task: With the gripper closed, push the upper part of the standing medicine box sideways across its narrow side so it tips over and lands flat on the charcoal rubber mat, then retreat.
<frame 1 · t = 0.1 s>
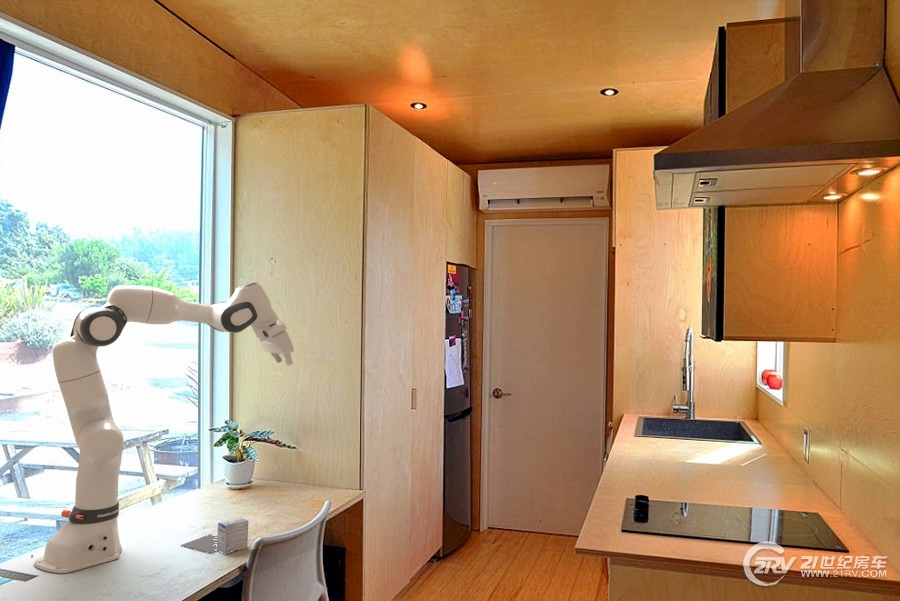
hand: (285, 363, 233), 54 cm above the table, tool tilted 30°, fingers open, 8 cm apart
mat: (210, 543, 212), on the table
medicine box: (232, 550, 208), on the table
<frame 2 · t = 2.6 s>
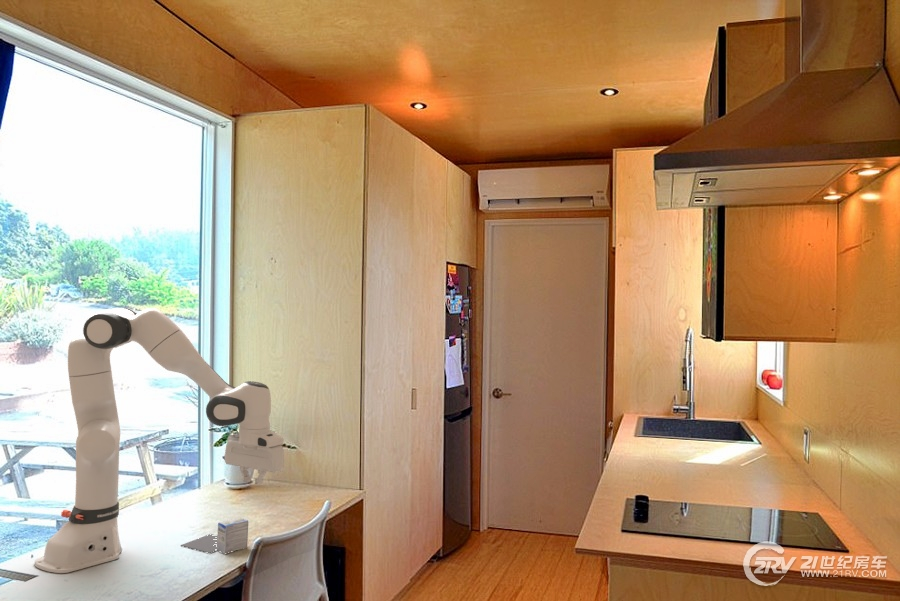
hand: (252, 483, 205), 21 cm above the table, tool pointing down, fingers open, 3 cm apart
nothing on the table moved.
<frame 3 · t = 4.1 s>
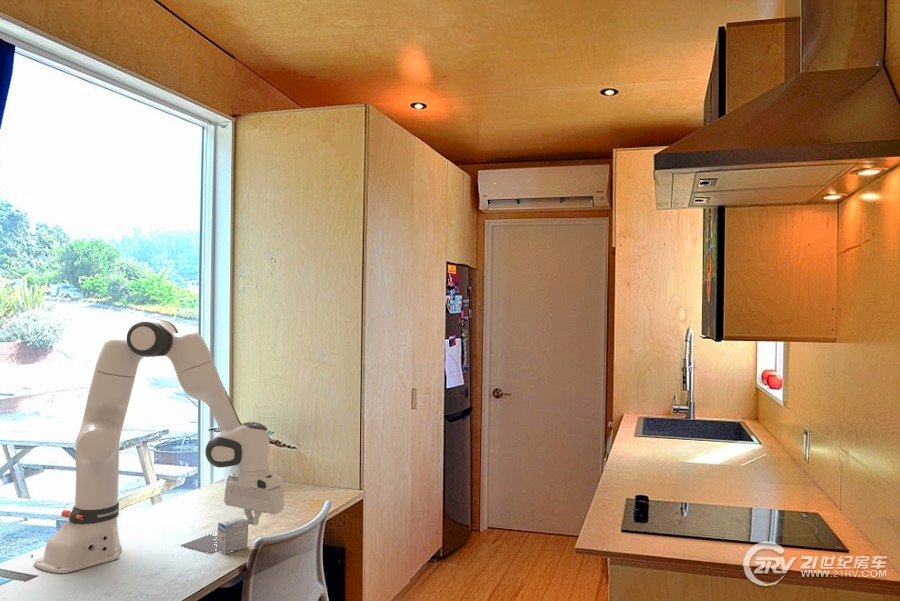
hand: (252, 524, 205), 9 cm above the table, tool pointing down, fingers closed
nothing on the table moved.
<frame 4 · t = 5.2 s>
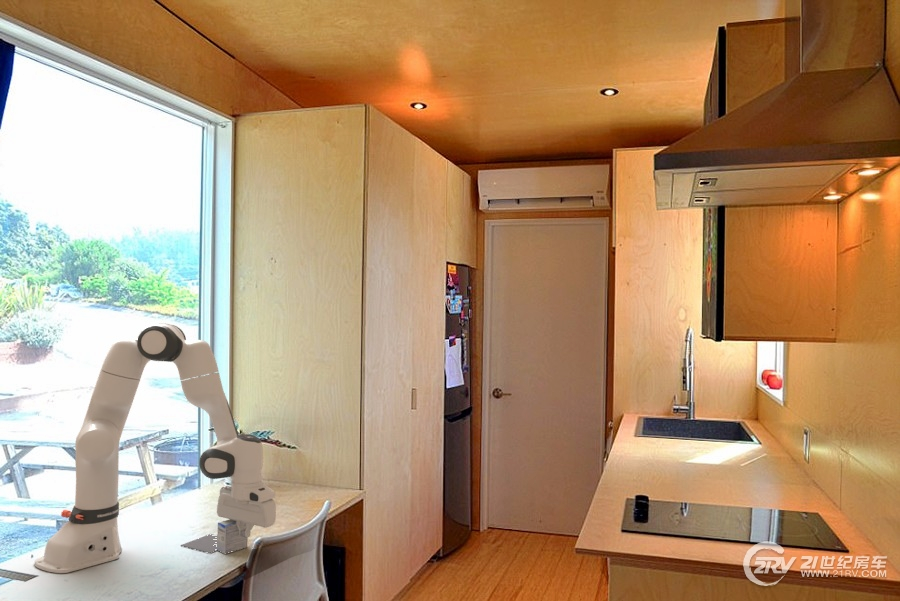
hand: (244, 536, 205), 5 cm above the table, tool pointing down, fingers closed
medicine box: (232, 550, 208), on the table, touching gripper
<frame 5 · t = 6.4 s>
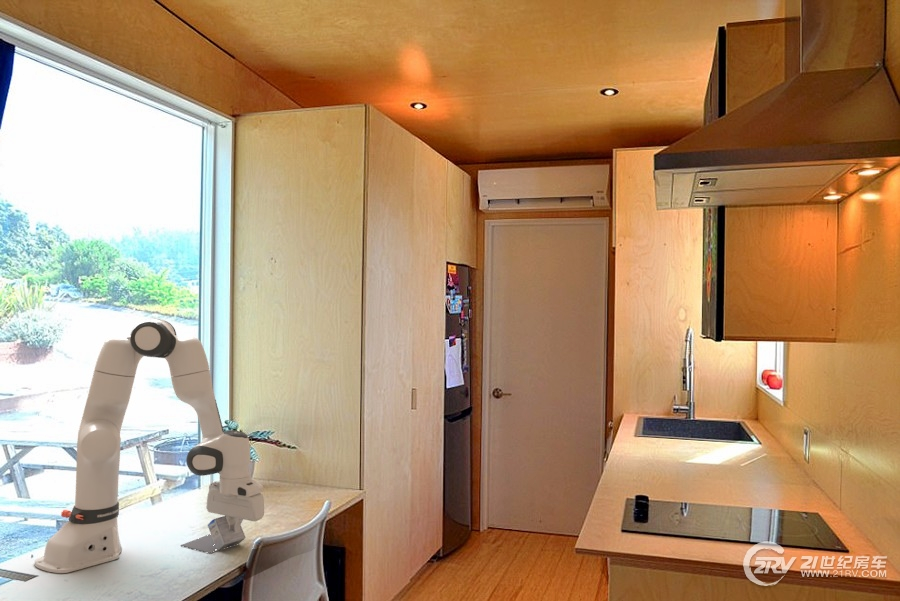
hand: (234, 530, 208), 6 cm above the table, tool pointing down, fingers closed
medicine box: (232, 545, 208), point 1 cm above the table, touching gripper, mat
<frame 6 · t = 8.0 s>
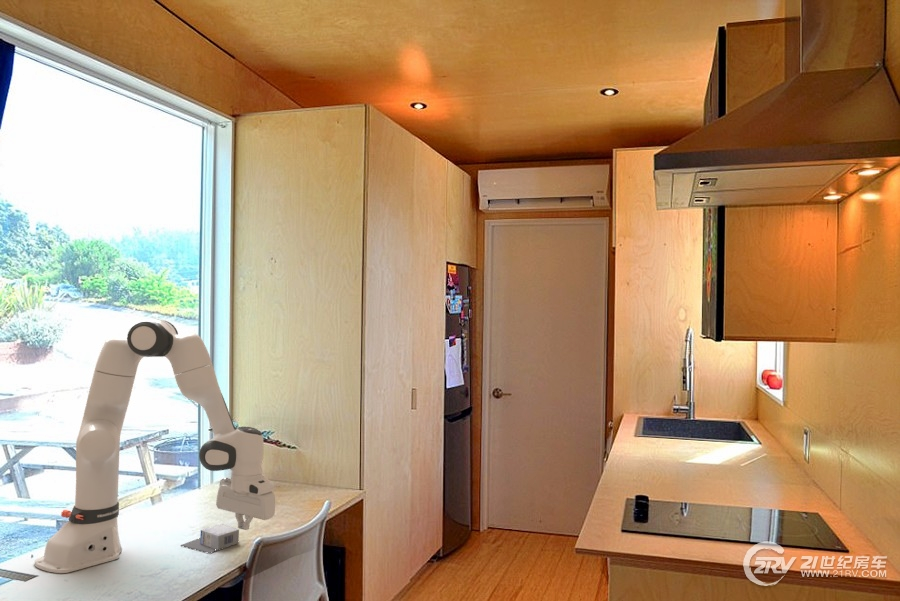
hand: (243, 528, 205), 7 cm above the table, tool pointing down, fingers closed
medicine box: (229, 539, 209), point 3 cm above the table, touching mat
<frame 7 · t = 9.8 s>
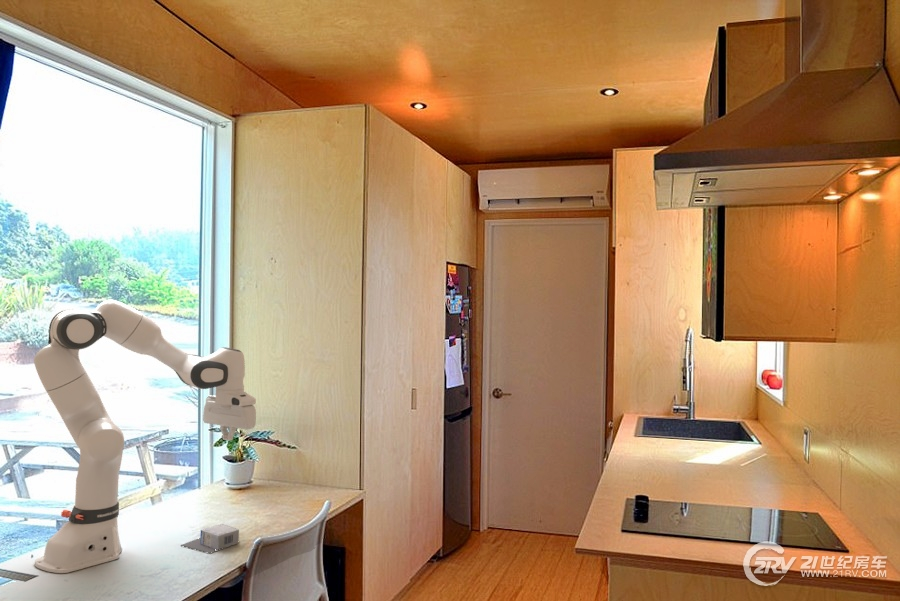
hand: (227, 440, 224), 30 cm above the table, tool pointing down, fingers closed
nothing on the table moved.
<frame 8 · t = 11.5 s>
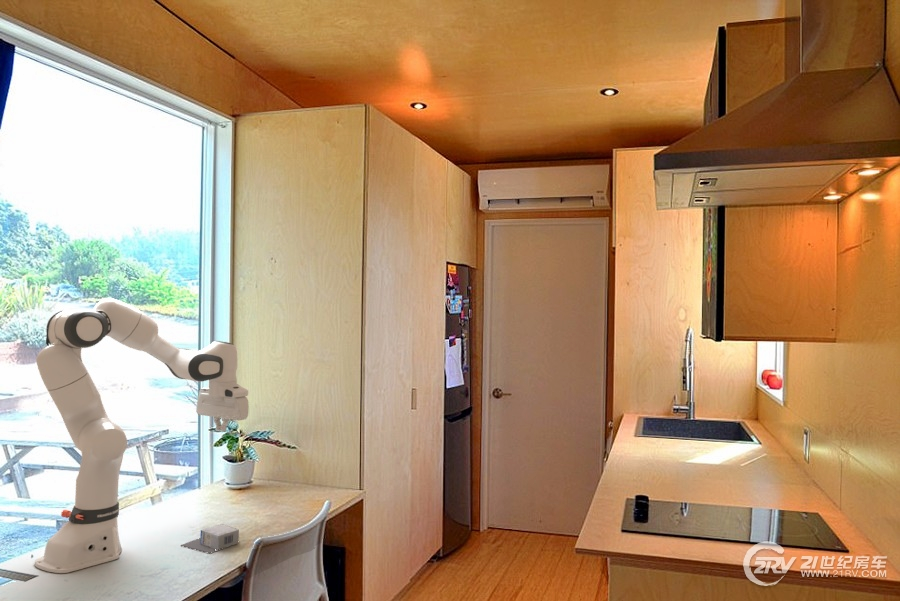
hand: (221, 430, 231), 31 cm above the table, tool pointing down, fingers closed
nothing on the table moved.
at the end: medicine box tilted 90°; medicine box inside the target area (4.2 cm from its centre), point 2.6 cm above the table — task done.
